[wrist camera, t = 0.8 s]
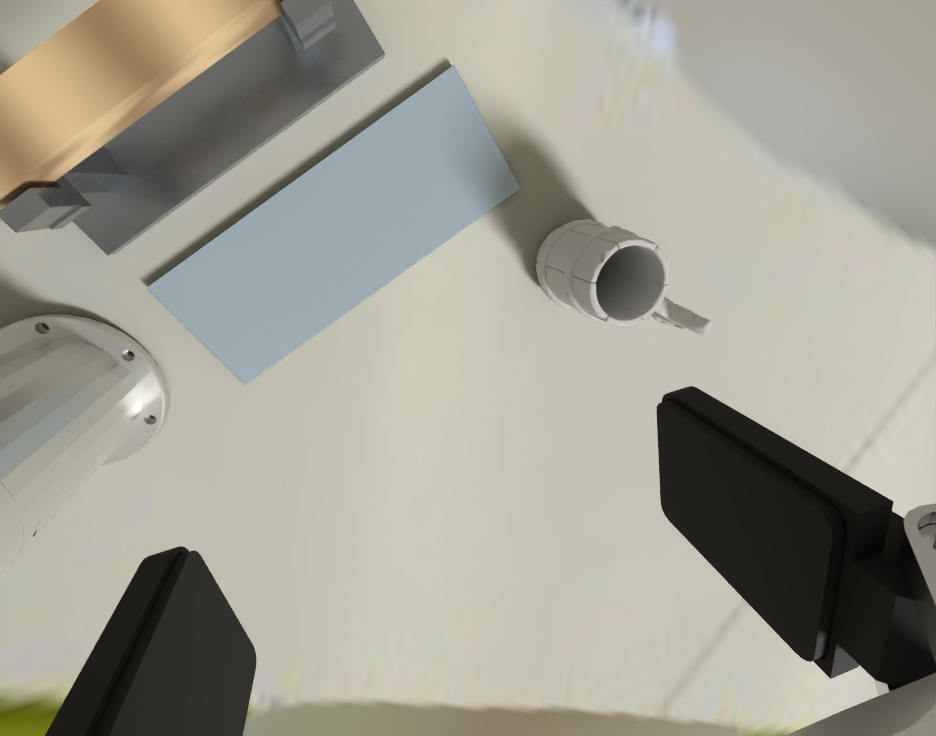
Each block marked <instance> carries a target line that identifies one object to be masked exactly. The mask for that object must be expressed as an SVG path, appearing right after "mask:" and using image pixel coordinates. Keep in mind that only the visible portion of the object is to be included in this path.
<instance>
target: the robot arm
mask: <svg viewBox="0 0 936 736" xmlns="http://www.w3.org/2000/svg"><path fill="white" fill-rule="evenodd" d="M46 324H47V325H48V327H47V325H46ZM130 351H131V352H133V353H134V355H133V354H131V353H130ZM167 409H168V392H167V387H166V382H165V380H164V378H163V375H162V373H161V371H160V369H159V367H158V366H157V364H156V363H155V361H154V360H153V358H152V357H151V356H150V354H149V353H148V352H147V351H146V350H145V349H143V348H142V347H141V346H140V345H139V344H138V343H137V342H136V341H134V340H133V339H132V338H130V337H129V336H127V335H126V334H125V333H123V332H121V331H119V330H117V329H115V328H113V327H111V326H109V325H107V324H105V323H102V322H99V321H96V320H93V319H90V318H85V317H80V316H74V315H64V314H47V315H40V316H33V317H29V318H26V319H23V320H20V321H17V322H14V323H12V324H10V325H8V326H5V327H3V328H1V329H0V575H1V574H2V573H3V572H4V571H5V570H6V569H7V568H8V567H9V565H11V564H12V563H13V562H14V560H15V559H16V558H17V557H18V556H19V555H20V554H21V553H22V552H23V551H24V549H25V548H26V547H27V546H28V545H29V544H30V543H31V542H32V541H33V539H34V538H35V537H36V536H37V535H38V534H39V533H40V532H41V531H42V530H43V528H44V527H45V526H46V525H47V524H48V523H49V522H50V521H51V520H52V519H53V517H54V516H55V515H56V514H57V513H58V512H59V511H60V510H61V509H62V508H63V506H64V505H65V504H66V503H67V502H68V501H69V500H70V499H71V498H72V496H73V495H74V494H75V493H76V492H77V491H78V490H79V489H80V488H81V487H82V485H83V484H84V483H85V482H86V481H87V480H88V479H89V478H90V477H91V476H92V474H93V473H94V472H95V471H96V470H97V469H98V468H99V467H100V466H103V465H109V464H113V463H116V462H119V461H121V460H124V459H127V458H129V457H130V456H132V455H134V454H135V453H137V452H139V451H140V450H141V449H142V448H144V447H145V446H146V445H147V444H148V443H149V442H150V441H151V440H152V439H153V438H154V436H155V435H156V434H157V433H158V431H159V429H160V428H161V426H162V424H163V422H164V420H165V416H166V413H167ZM152 415H153V416H155V417H153V416H152ZM657 428H658V451H659V473H660V496H661V506H662V509H663V512H664V514H665V516H666V517H667V519H668V520H669V521H670V522H671V523H672V524H673V525H674V526H675V527H676V528H677V529H678V530H679V532H680V533H681V534H682V535H683V536H684V537H685V538H686V539H687V540H688V541H689V542H690V543H691V544H692V545H693V546H694V547H695V548H696V549H697V550H698V551H699V552H700V553H701V555H702V556H703V557H704V558H705V559H706V560H707V561H708V562H709V563H710V564H711V565H712V566H713V567H714V568H715V569H716V570H717V571H718V572H719V573H720V574H721V575H722V576H723V577H724V579H725V580H726V581H727V582H728V583H729V584H730V585H731V586H732V587H733V588H734V589H735V590H736V591H737V592H738V593H739V594H740V595H741V596H742V597H743V598H744V599H745V600H746V601H747V603H748V604H749V605H750V606H751V607H752V608H753V609H754V610H755V611H756V612H757V613H758V614H759V615H760V616H761V617H762V618H763V619H764V620H765V621H766V622H767V623H768V624H769V626H770V627H771V628H772V629H773V630H774V631H775V632H776V633H777V634H778V635H779V636H780V637H781V638H782V639H783V640H784V641H785V642H786V643H787V644H788V645H789V646H790V647H791V648H792V650H793V651H794V652H795V653H796V654H798V655H799V656H800V657H801V658H803V659H804V660H806V661H809V662H810V661H814V662H815V663H816V664H817V665H818V666H819V667H820V668H821V669H822V670H823V671H824V673H825V674H826V675H827V676H828V677H829V678H830V679H831V678H834V677H836V676H838V675H841V674H843V673H845V672H848V671H850V670H852V669H855V668H857V667H859V665H860V666H861V667H862V668H863V669H864V670H866V671H867V672H868V673H869V674H870V675H871V676H872V677H873V678H874V680H875V684H876V688H877V692H878V697H875V698H873V699H870V700H868V701H866V702H863V703H861V704H858V705H856V706H853V707H851V708H848V709H846V710H843V711H841V712H839V713H837V714H834V715H832V716H830V717H827V718H825V719H823V720H820V721H818V722H816V723H814V724H811V725H809V726H807V727H804V728H802V729H800V730H797V731H795V732H793V733H791V734H788V735H786V736H936V504H930V505H924V506H919V507H917V508H915V509H913V510H911V511H909V512H908V513H907V515H906V516H905V518H903V517H901V516H899V515H898V514H896V513H894V512H893V511H892V506H893V501H891V500H890V499H888V498H886V497H885V496H883V495H881V494H879V493H878V492H876V491H874V490H872V489H871V488H869V487H867V486H866V485H864V484H862V483H860V482H859V481H857V480H855V479H853V478H852V477H850V476H848V475H847V474H845V473H843V472H841V471H840V470H838V469H836V468H834V467H833V466H831V465H829V464H827V463H826V462H824V461H822V460H821V459H819V458H817V457H815V456H814V455H812V454H810V453H808V452H807V451H805V450H803V449H802V448H800V447H798V446H796V445H795V444H793V443H791V442H789V441H788V440H786V439H784V438H783V437H781V436H779V435H777V434H776V433H774V432H772V431H770V430H769V429H767V428H765V427H763V426H762V425H760V424H758V423H757V422H755V421H753V420H751V419H750V418H748V417H746V416H744V415H743V414H741V413H739V412H738V411H736V410H734V409H732V408H731V407H729V406H727V405H725V404H724V403H722V402H720V401H719V400H717V399H715V398H713V397H712V396H710V395H708V394H706V393H705V392H703V391H701V390H700V389H698V388H696V387H693V386H690V387H686V388H683V389H680V390H676V391H673V392H670V393H667V394H665V395H664V396H663V399H662V402H661V403H659V404H658V406H657ZM255 669H256V653H255V649H254V646H253V644H252V642H251V641H250V639H249V637H248V636H247V634H246V632H245V630H244V629H243V627H242V625H241V624H240V622H239V620H238V619H237V617H236V615H235V613H234V612H233V610H232V608H231V607H230V605H229V603H228V601H227V600H226V598H225V596H224V595H223V593H222V591H221V589H220V588H219V586H218V584H217V583H216V581H215V579H214V577H213V576H212V574H211V572H210V571H209V569H208V567H207V565H206V564H205V562H204V560H203V559H202V557H201V555H200V554H199V553H198V552H197V551H191V552H189V551H188V549H186V548H185V547H176V548H173V549H170V550H167V551H164V552H161V553H157V554H154V555H151V556H148V557H146V558H145V559H144V560H143V561H142V562H141V564H140V566H139V568H138V569H137V571H136V573H135V575H134V577H133V578H132V580H131V582H130V584H129V586H128V587H127V589H126V591H125V593H124V595H123V596H122V598H121V600H120V602H119V604H118V605H117V607H116V609H115V611H114V613H113V614H112V616H111V618H110V620H109V622H108V623H107V625H106V627H105V629H104V631H103V632H102V634H101V636H100V638H99V640H98V641H97V643H96V645H95V647H94V649H93V650H92V652H91V654H90V656H89V658H88V659H87V661H86V663H85V665H84V667H83V668H82V670H81V672H80V674H79V676H78V677H77V679H76V681H75V683H74V685H73V686H72V688H71V690H70V692H69V694H68V695H67V697H66V699H65V701H64V703H63V704H62V706H61V708H60V710H59V711H58V713H57V715H56V717H55V719H54V720H53V722H52V724H51V726H50V728H49V729H48V731H47V733H46V735H45V736H243V730H244V726H245V721H246V715H247V710H248V705H249V700H250V695H251V690H252V685H253V680H254V675H255Z"/></svg>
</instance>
